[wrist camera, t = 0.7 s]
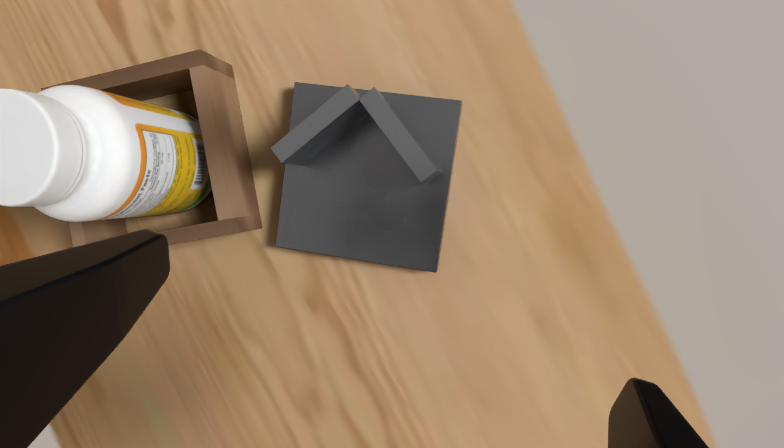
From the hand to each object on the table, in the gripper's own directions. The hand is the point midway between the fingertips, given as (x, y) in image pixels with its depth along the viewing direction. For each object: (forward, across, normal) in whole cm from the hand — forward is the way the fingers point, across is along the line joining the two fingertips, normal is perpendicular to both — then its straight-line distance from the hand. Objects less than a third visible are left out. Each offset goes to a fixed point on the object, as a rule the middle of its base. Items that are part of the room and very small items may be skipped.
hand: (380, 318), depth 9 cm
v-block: (+15, +4, +5) cm, 16 cm away
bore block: (+14, +14, +6) cm, 21 cm away
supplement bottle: (+14, +14, +6) cm, 21 cm away
